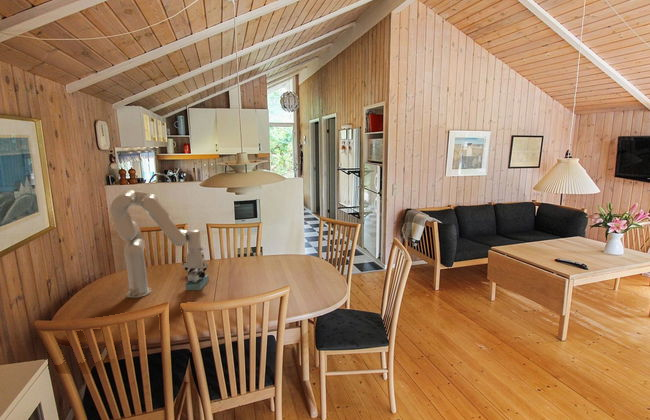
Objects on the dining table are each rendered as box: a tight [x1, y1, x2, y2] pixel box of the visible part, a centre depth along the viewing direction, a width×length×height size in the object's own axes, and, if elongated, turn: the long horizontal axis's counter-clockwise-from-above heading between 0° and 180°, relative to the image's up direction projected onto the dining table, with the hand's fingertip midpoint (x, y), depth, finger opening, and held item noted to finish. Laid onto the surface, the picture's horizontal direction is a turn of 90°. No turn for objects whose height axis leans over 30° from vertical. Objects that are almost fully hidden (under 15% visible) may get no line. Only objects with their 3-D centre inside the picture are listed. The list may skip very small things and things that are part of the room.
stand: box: [184, 274, 210, 291], centre depth 221 cm, size 14×9×4 cm, turn 178°
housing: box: [187, 269, 207, 282], centre depth 219 cm, size 6×9×6 cm, turn 162°
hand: (196, 277), depth 220 cm, fingers closed on housing, 7 cm apart
